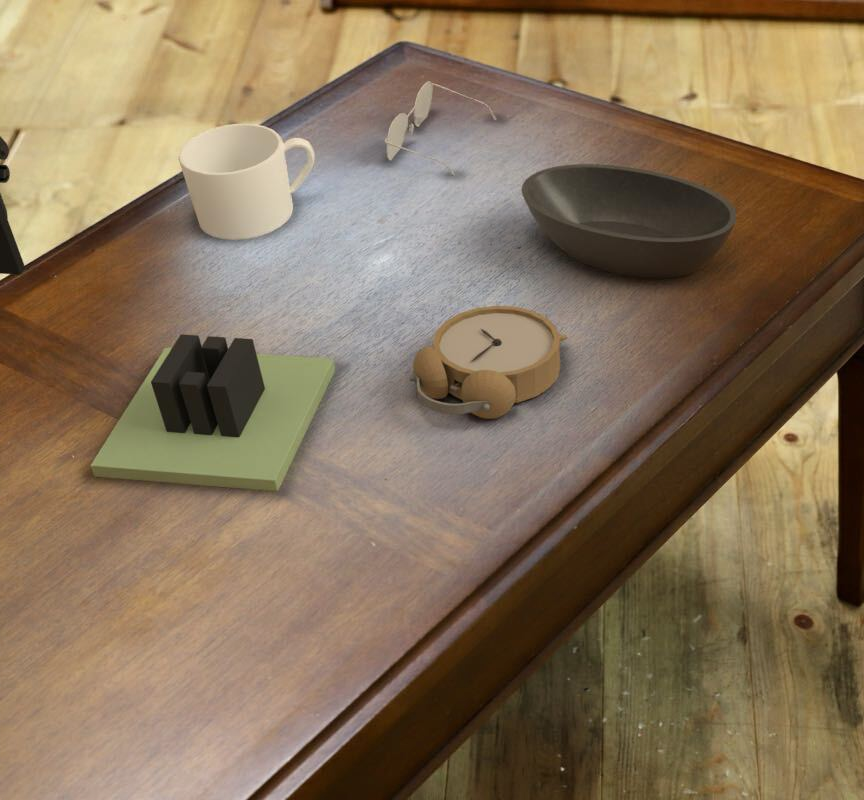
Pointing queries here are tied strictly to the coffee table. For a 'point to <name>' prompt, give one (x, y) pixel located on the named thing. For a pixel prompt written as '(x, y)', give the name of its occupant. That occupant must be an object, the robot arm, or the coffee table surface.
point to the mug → (241, 179)
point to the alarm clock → (488, 361)
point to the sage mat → (214, 454)
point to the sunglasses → (420, 113)
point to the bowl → (629, 218)
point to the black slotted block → (208, 385)
